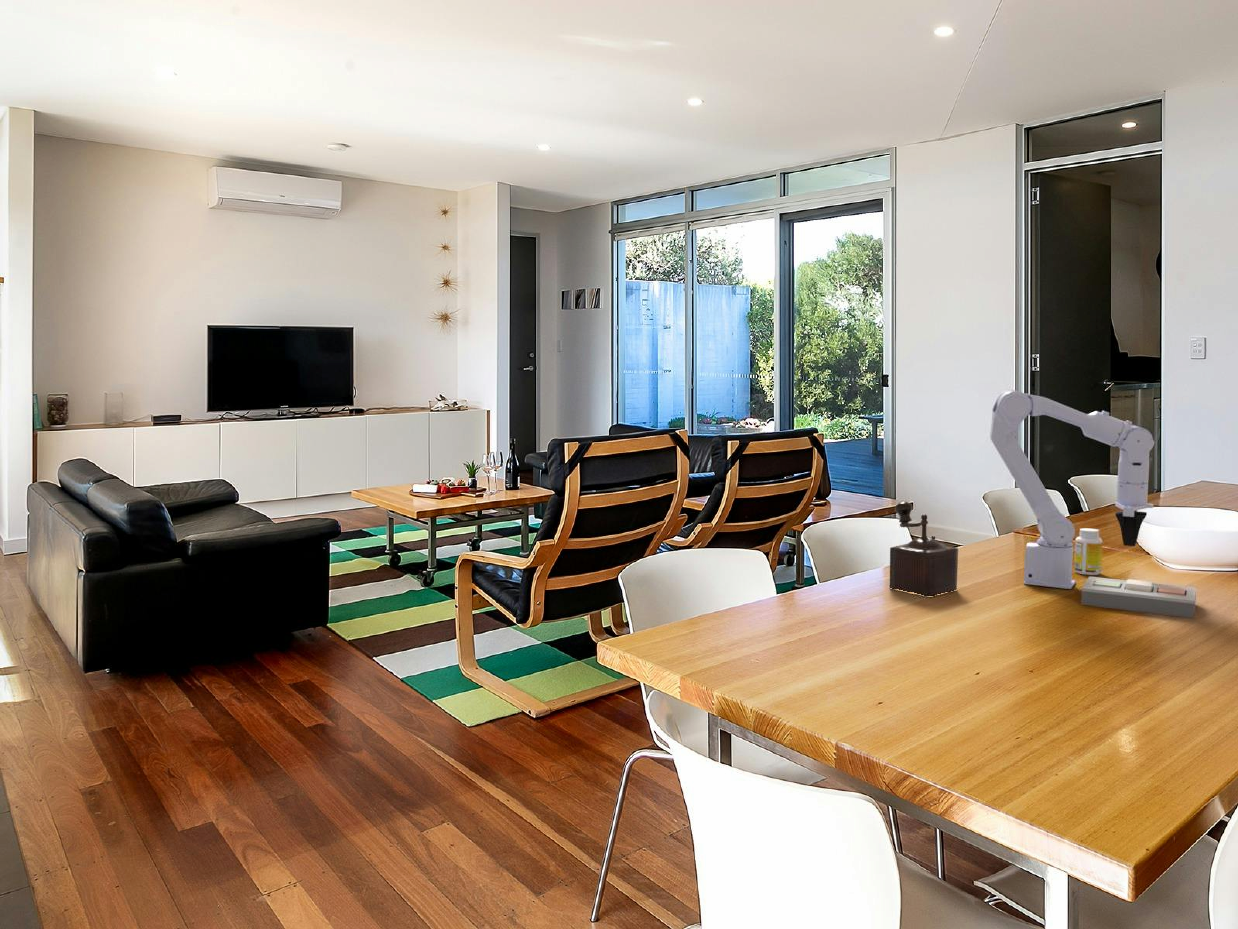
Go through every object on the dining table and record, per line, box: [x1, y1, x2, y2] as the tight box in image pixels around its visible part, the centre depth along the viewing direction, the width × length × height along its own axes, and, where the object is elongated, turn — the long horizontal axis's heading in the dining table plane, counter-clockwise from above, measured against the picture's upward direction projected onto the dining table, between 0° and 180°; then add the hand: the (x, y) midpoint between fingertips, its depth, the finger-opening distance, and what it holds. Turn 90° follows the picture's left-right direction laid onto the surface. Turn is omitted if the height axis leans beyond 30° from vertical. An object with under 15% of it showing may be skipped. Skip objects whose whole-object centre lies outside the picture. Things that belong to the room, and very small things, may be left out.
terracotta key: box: [1158, 586, 1185, 596], centre depth 179 cm, size 4×4×2 cm
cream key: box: [1126, 578, 1154, 592], centre depth 182 cm, size 4×4×2 cm
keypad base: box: [1080, 576, 1197, 619], centre depth 182 cm, size 19×12×3 cm, turn 57°
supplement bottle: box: [1074, 527, 1103, 576], centre depth 210 cm, size 6×6×10 cm
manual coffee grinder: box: [889, 501, 959, 597], centre depth 197 cm, size 16×11×18 cm
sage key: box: [1094, 580, 1121, 588], centre depth 185 cm, size 4×4×2 cm
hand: (1129, 545), depth 195 cm, fingers closed
